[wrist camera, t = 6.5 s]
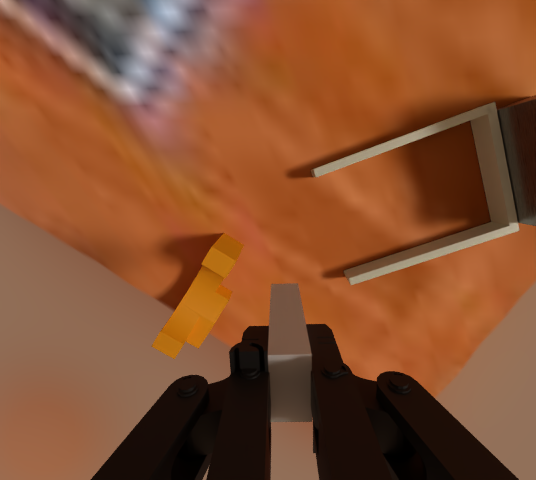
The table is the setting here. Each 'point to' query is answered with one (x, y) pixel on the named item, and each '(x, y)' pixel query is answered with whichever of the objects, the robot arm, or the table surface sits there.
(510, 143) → the unit housing
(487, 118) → the frame
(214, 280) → the pipe clamp
